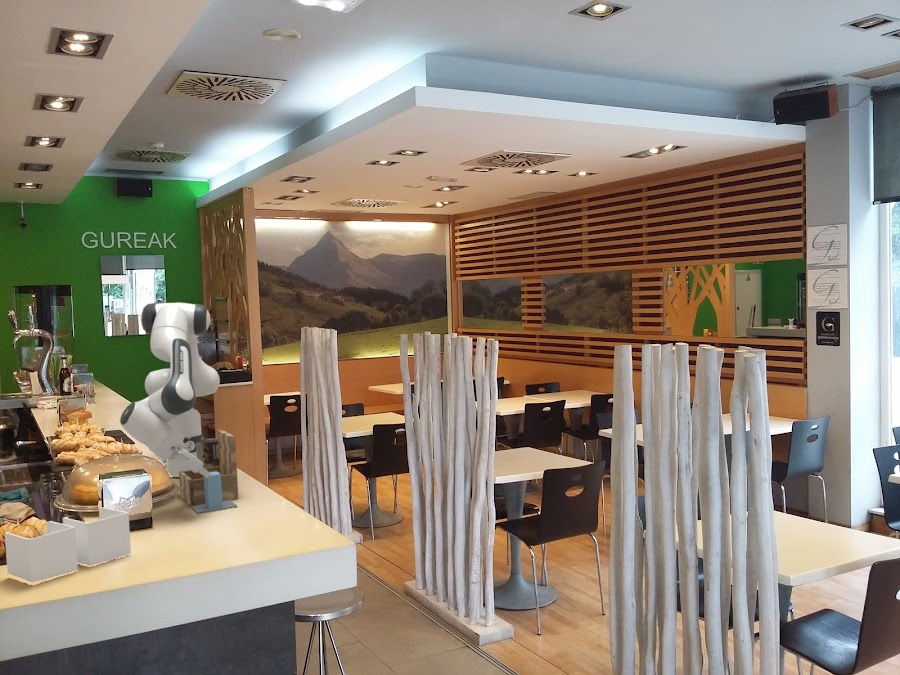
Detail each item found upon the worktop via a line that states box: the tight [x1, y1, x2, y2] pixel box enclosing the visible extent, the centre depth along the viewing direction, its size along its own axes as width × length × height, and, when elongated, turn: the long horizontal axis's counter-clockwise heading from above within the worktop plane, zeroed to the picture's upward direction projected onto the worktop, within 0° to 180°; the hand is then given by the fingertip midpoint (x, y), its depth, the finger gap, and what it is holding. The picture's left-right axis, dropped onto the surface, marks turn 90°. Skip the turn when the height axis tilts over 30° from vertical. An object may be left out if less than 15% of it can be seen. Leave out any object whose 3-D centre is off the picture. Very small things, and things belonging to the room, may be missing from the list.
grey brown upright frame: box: [196, 437, 219, 468], centre depth 274 cm, size 9×6×16 cm
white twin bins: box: [4, 506, 132, 582], centre depth 197 cm, size 25×11×11 cm, turn 145°
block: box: [204, 471, 223, 509], centre depth 247 cm, size 5×4×10 cm
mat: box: [190, 500, 238, 515], centre depth 247 cm, size 9×12×1 cm
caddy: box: [178, 429, 239, 507], centre depth 259 cm, size 16×14×20 cm
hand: (204, 472), depth 245 cm, fingers open, 8 cm apart
